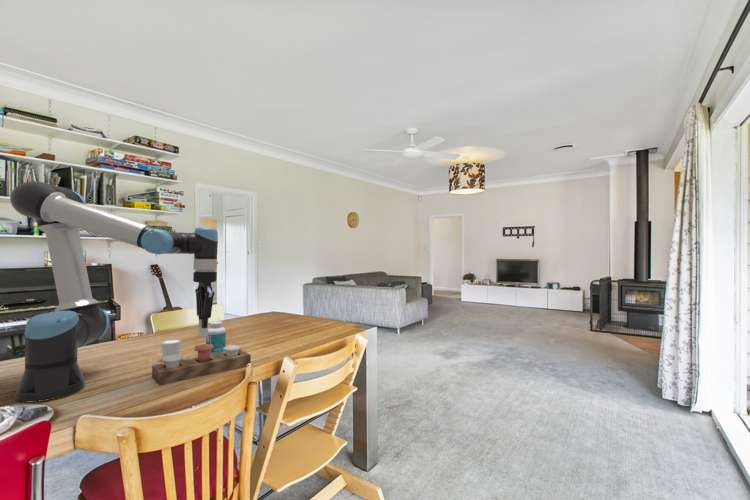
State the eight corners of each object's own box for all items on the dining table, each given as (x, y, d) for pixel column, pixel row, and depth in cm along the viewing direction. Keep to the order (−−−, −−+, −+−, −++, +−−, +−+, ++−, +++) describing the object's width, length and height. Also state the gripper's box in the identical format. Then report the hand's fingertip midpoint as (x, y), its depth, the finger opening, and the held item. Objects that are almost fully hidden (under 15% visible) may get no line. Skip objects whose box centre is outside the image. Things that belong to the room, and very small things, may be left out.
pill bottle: (229, 353, 148) (229, 321, 149) (219, 358, 141) (220, 324, 141) (212, 352, 149) (212, 320, 149) (201, 357, 142) (202, 324, 142)
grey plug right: (226, 366, 129) (227, 350, 129) (220, 362, 133) (221, 346, 133) (243, 363, 133) (243, 347, 133) (236, 359, 137) (236, 344, 137)
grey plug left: (164, 379, 115) (165, 361, 115) (160, 374, 119) (160, 357, 119) (184, 375, 119) (185, 357, 119) (179, 370, 123) (180, 353, 123)
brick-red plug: (197, 366, 122) (197, 349, 122) (192, 362, 126) (192, 346, 126) (215, 363, 126) (215, 346, 126) (209, 359, 130) (210, 343, 130)
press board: (159, 385, 112) (159, 372, 112) (151, 377, 119) (152, 365, 119) (250, 365, 133) (250, 354, 133) (239, 359, 140) (239, 349, 140)
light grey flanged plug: (165, 363, 134) (165, 344, 134) (157, 359, 138) (158, 341, 139) (184, 358, 140) (184, 341, 140) (176, 355, 144) (176, 338, 144)
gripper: (222, 271, 124) (220, 338, 124) (210, 269, 133) (207, 332, 133) (200, 272, 119) (197, 342, 119) (188, 270, 128) (186, 334, 128)
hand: (203, 336), depth 126 cm, fingers closed
